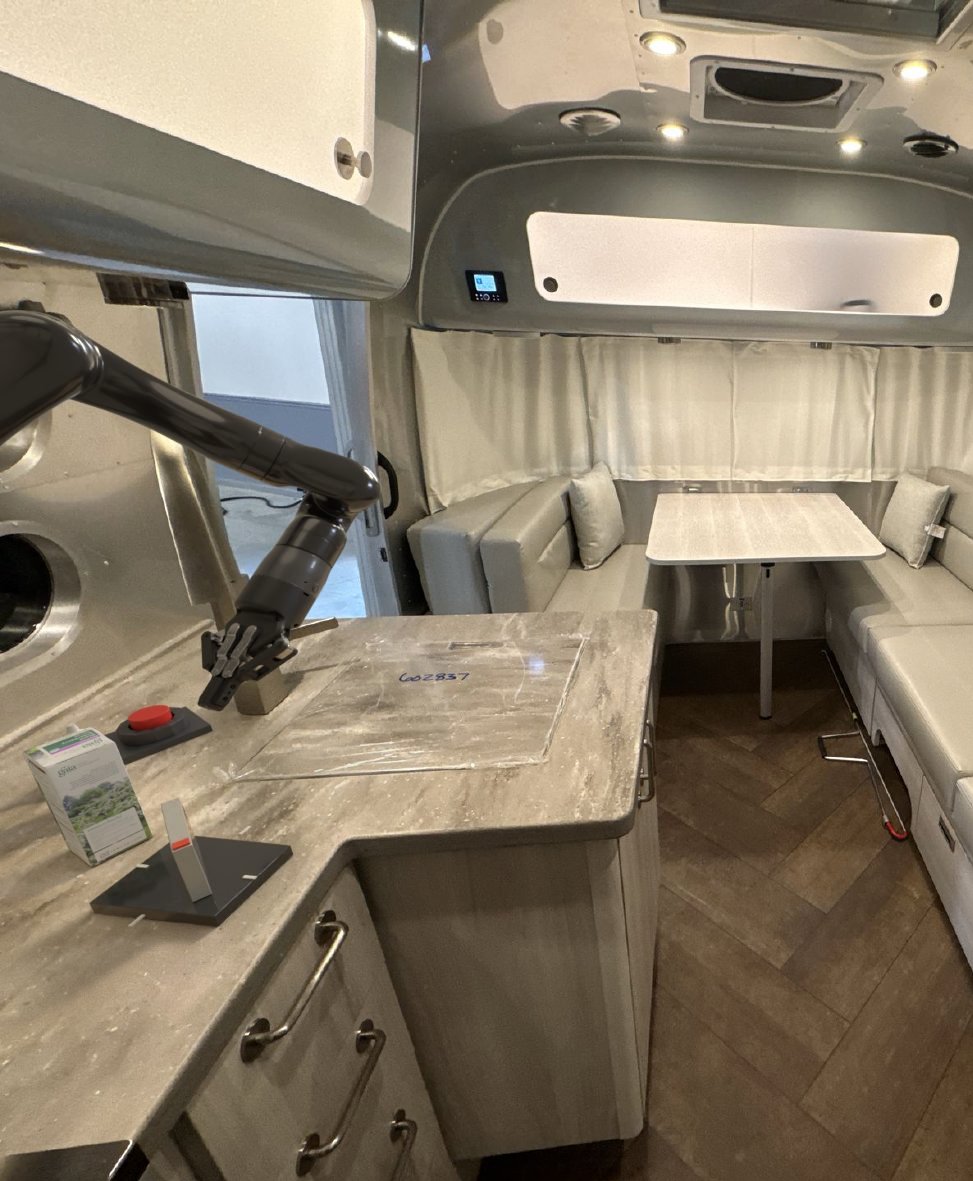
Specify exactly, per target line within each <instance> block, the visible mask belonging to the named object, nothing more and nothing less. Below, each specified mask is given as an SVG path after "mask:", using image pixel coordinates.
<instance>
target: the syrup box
mask: <svg viewBox="0 0 973 1181" xmlns="http://www.w3.org/2000/svg"><path fill="white" fill-rule="evenodd" d="M82 729H83V730H80V731H78V732H75V733H72V734H69V735H67V736H64V737H62V736H61V737H58V738H56V739H53V740H50V741H47V742H44V743H42V744H40V745H37V746H34V747H31V748H29V749H26V750H23V751H22V755H23V758H24V759H25V762H26V764H27V766H28V768H29V770H30V771H31V774H32V776H33V779H34V780H35V782H36V785H37V786H38V788H39V790H40V792H41V794H42V797H43V799H44V800H45V803H46V805H47V807H48V808H49V811H50V813H51V815H52V817H53V819H54V821H55V823H56V825H57V827H58V830H59V832H60V834H61V837H62V838H63V840H64V842H65V844H66V846H67V848H68V850H70V852H72V853H73V854H74V855H76V856H77V857H79V859H81V860H82V861H83V862H84V863H86V864H87V865H88V866H90V868H93V867H95V866H98V865H100V864H102V863H104V862H105V861H107V860H109V859H111V858H113V857H116V856H117V855H120V854H121V853H123V852H125V851H127V850H130V849H131V848H133V847H136V846H137V845H139V844H141V843H143V842H145V841H147V840H149V839H151V838H153V837H154V834H153V830H152V828H151V827H150V824H149V822H148V820H147V817H146V814H145V812H144V810H143V807H142V805H141V803H140V800H139V798H138V796H137V793H136V790H135V788H134V786H133V783H132V781H131V778H130V775H129V773H128V771H127V768H126V765H124V763H123V760H122V758H121V756H120V753H119V750H118V748H117V746H116V744H115V742H113V741H112V740H110V739H109V738H107V737H106V736H104V735H105V734H103V733H102V732H100V731H99V730H97V729H95V728H94V727H93V726H89V727H86V728H82Z"/></svg>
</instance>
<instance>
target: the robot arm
mask: <svg viewBox="0 0 973 1181" xmlns="http://www.w3.org/2000/svg"><path fill="white" fill-rule="evenodd" d="M68 400H71V401H74V402H78V403H81V404H83V405H86V406H90V407H94V408H96V409H100V410H103V411H105V412H108V413H112V414H114V415H117V416H119V417H122V418H123V419H126V420H129V421H131V422H134V423H136V424H138V425H140V426H143V427H145V428H147V429H149V430H151V431H153V432H155V433H158V434H159V435H162V436H163V437H165V438H167V439H169V440H171V441H173V442H175V443H177V444H178V445H180V446H182V447H184V448H186V449H188V450H190V451H192V452H193V453H196V454H198V455H200V456H202V457H203V458H206V459H207V460H208V461H212V462H214V463H215V464H218V465H220V466H223V467H224V468H227V469H229V470H232V471H233V472H237V473H239V474H241V475H244V476H246V477H249V478H250V479H254V480H256V481H259V482H261V483H263V484H266V485H269V486H272V487H275V488H280V489H281V488H290V487H291V488H293V487H294V488H297V489H301V490H304V491H306V492H305V494H304V496H303V497H302V499H301V502H300V504H299V506H298V508H297V511H296V512H295V514H294V515H295V516H294V517H293V520H292V521H291V522H290V523H289V524H288V525H287V526H286V528H285V529H284V531H283V532H282V534H281V535H280V537H279V538H278V540H277V542H276V543H275V545H274V546H273V547H272V549H271V550H269V552H268V553H267V554H266V555H265V556H264V558H263V559H262V560H261V561H260V562H259V564H258V566H257V567H256V569H255V570H254V572H253V573H252V575H251V577H250V578H249V579H248V581H247V582H246V584H245V586H244V587H243V589H241V592H240V593H239V594H238V596H237V598H236V599H235V601H234V604H233V605H234V607H235V610H236V614H235V615H234V616H233V617H232V618H231V619H230V620H228V621H227V622H226V623H225V625H224V628H223V629H220V630H219V631H217V632H212V631H209V630H205V631H204V632H202V634H201V635H200V646H201V647H200V648H201V649H200V650H201V668H202V669H203V670H205V671H207V672H208V673H210V674H211V678H210V680H209V681H208V683H207V684H206V686H205V687H204V689H203V691H202V693H201V694H200V695H199V697H198V700H197V702H196V703H197V707H200V708H202V709H205V710H207V711H213V712H222V711H224V709H225V708H226V707H227V706H228V705H229V704H230V702H231V700H232V699H233V697H234V696H235V694H236V692H237V691H238V689H239V688H240V686H241V685H244V684H246V683H247V682H249V681H253V682H259V681H261V680H262V679H264V678H265V677H266V676H268V675H270V673H272V672H274V671H275V670H276V669H278V668H280V667H282V666H283V665H284V664H286V663H287V662H288V661H290V660H292V659H293V658H294V657H295V656H296V655H298V653H299V650H298V649H299V648H297V647H295V646H293V645H291V643H290V641H289V639H290V638H291V636H292V630H295V629H298V628H300V627H301V626H302V624H303V623H304V621H305V619H306V618H307V616H308V614H309V612H310V611H311V609H312V607H313V606H314V604H315V602H316V601H317V599H318V598H319V596H320V594H321V592H322V591H323V589H324V587H325V585H326V583H327V581H328V579H329V576H330V573H331V571H332V570H333V568H334V567H335V564H336V563H337V561H338V560H339V558H340V557H341V555H342V553H343V551H344V549H345V547H346V544H347V542H348V537H347V533H348V531H349V529H350V528H351V525H352V524H353V522H354V521H355V519H356V518H357V517H358V516H359V515H360V513H362V512H364V511H366V510H368V509H369V508H371V507H373V506H374V505H375V504H376V503H377V502H378V501H379V500H380V498H381V496H382V493H383V492H382V491H383V488H382V487H383V486H382V483H381V480H380V479H379V477H378V476H377V475H376V473H375V472H373V470H371V469H370V467H368V466H366V465H365V464H363V463H361V462H359V461H357V460H354V459H353V458H350V457H347V456H346V455H345V456H344V455H341V454H338V453H335V452H332V451H329V450H325V449H322V448H319V447H316V446H311V445H307V444H305V443H300V442H298V441H295V440H294V439H291V438H290V437H287V436H285V435H283V434H282V433H279V432H277V431H275V430H273V429H271V428H269V427H267V426H265V425H263V424H260V423H258V422H256V421H254V420H251V419H249V418H247V417H245V416H243V415H240V414H238V413H235V412H233V411H232V410H229V409H227V408H224V407H222V406H220V405H217V404H215V403H212V402H210V401H209V400H206V399H203V398H201V397H199V396H196V395H194V394H192V393H190V392H187V391H185V390H183V389H182V388H180V387H177V386H175V385H173V384H171V383H169V382H167V381H166V380H163V379H161V378H159V377H157V376H155V375H153V374H152V373H150V372H147V371H146V370H143V369H142V368H141V367H139V366H136V365H135V364H133V363H132V362H130V361H128V360H126V359H125V358H123V357H121V356H120V355H118V354H117V353H115V352H113V351H111V350H110V349H108V348H107V347H106V346H103V345H102V344H100V342H97V341H95V340H94V339H93V338H90V337H89V336H88V335H86V334H85V333H83V332H82V331H81V330H79V329H78V328H77V327H76V326H74V325H73V324H71V323H69V322H68V321H66V320H64V319H61V318H59V317H57V316H54V315H51V314H47V313H44V312H40V311H35V310H22V309H19V310H14V309H13V310H10V309H9V310H1V311H0V448H1V447H2V446H4V444H6V443H7V442H8V441H9V440H11V439H12V438H13V437H14V436H15V435H17V434H18V433H19V432H21V431H23V430H24V429H25V428H27V427H28V426H29V425H31V424H32V423H34V422H35V421H36V420H38V419H40V418H41V417H42V416H44V415H45V414H47V413H49V412H50V411H52V410H53V409H55V408H57V407H58V406H60V405H61V404H63V403H65V402H66V401H68Z"/></svg>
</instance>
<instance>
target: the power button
mask: <svg viewBox="0 0 973 1181" xmlns="http://www.w3.org/2000/svg"><path fill="white" fill-rule="evenodd" d="M169 707H170V706H168V705H166V704H154V705H149V706H146V707H142V708H140V709H137V710H135V711H134V712H132V713H130V715H128V717H127V719H128V721H129V723H130V726H131V728H132V729H133V730H137V731H141V730H146V729H152V728H155V727H158V726H160V725H163V724H165V723H167V722H169V721H170V720H172V714H171V712H170V709H169Z"/></svg>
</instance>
